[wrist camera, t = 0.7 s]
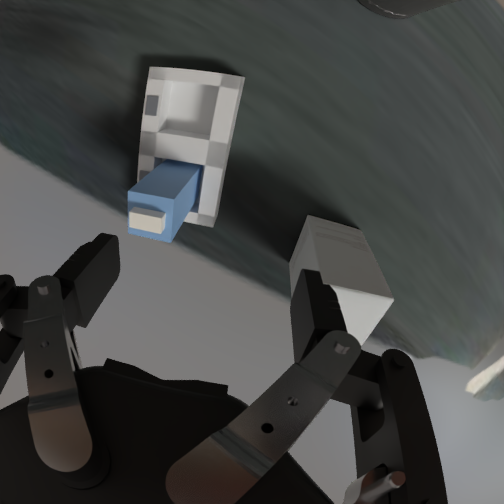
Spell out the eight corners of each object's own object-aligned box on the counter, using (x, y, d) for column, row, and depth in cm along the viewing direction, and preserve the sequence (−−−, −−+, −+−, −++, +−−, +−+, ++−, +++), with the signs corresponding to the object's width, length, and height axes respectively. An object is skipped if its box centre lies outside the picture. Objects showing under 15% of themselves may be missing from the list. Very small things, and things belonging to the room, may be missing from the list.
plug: (168, 157, 30) (122, 195, 21) (203, 163, 30) (170, 204, 21) (164, 190, 32) (123, 239, 23) (197, 197, 32) (167, 249, 23)
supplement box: (287, 263, 37) (290, 340, 26) (307, 212, 33) (321, 281, 22) (339, 276, 37) (358, 352, 27) (363, 229, 33) (396, 299, 23)
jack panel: (160, 67, 25) (149, 66, 22) (245, 77, 25) (241, 76, 23) (146, 200, 33) (135, 212, 31) (217, 215, 34) (212, 228, 31)
